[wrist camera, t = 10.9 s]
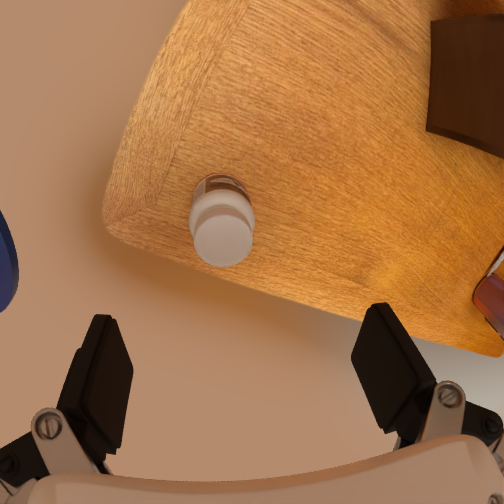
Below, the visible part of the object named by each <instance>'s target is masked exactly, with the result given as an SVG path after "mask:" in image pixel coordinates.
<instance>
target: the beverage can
mask: <svg viewBox="0 0 504 504" xmlns="http://www.w3.org/2000/svg"><path fill="white" fill-rule="evenodd" d="M473 300H474V305H475V306H476V307H477V308H478V309H479V310H480V311H481V313H482V314H483V315H484V316H485V317H486V318H487V319H488V321H489V322H490V323H491V324H492V325H493V326H494V328H495V329H496V330H497V331H498V332H499V334H500V335H501V336H502V337H503V338H504V281H503V280H502V279H501V278H500V277H499V276H498V275H495V274H491V275H490V276H489V277H488V276H486V277H485V278H484V279H483V280H482V281H481V282H480V283H479V284H478V286H477V288H476V290H475V292H474V296H473Z"/></svg>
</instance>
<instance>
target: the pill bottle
mask: <svg viewBox="0 0 504 504" xmlns="http://www.w3.org/2000/svg"><path fill="white" fill-rule="evenodd" d="M254 226H255V216H254V212H253V209H252V206H251V203H250V200H249V197H248V194H247V192H246V189H245V187H244V185H243V184H242V183H241V182H240V181H239V180H238V179H237V178H235V177H234V176H232V175H229V174H224V173H217V174H212V175H209V176H207V177H205V178H204V179H203V180H201V181H200V182H199V184H198V185H197V186H196V188H195V190H194V193H193V198H192V204H191V210H190V215H189V229H190V233H191V235H192V237H193V239H194V246H195V250H196V252H197V254H198V255H199V257H200V258H201V259H202V260H204V261H205V262H206V263H208V264H210V265H213V266H217V267H229V266H233V265H236V264H238V263H240V262H241V261H242V260H244V259H245V258H246V257H247V256H248V254H249V252H250V250H251V248H252V244H253V236H252V233H253V230H254Z"/></svg>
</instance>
